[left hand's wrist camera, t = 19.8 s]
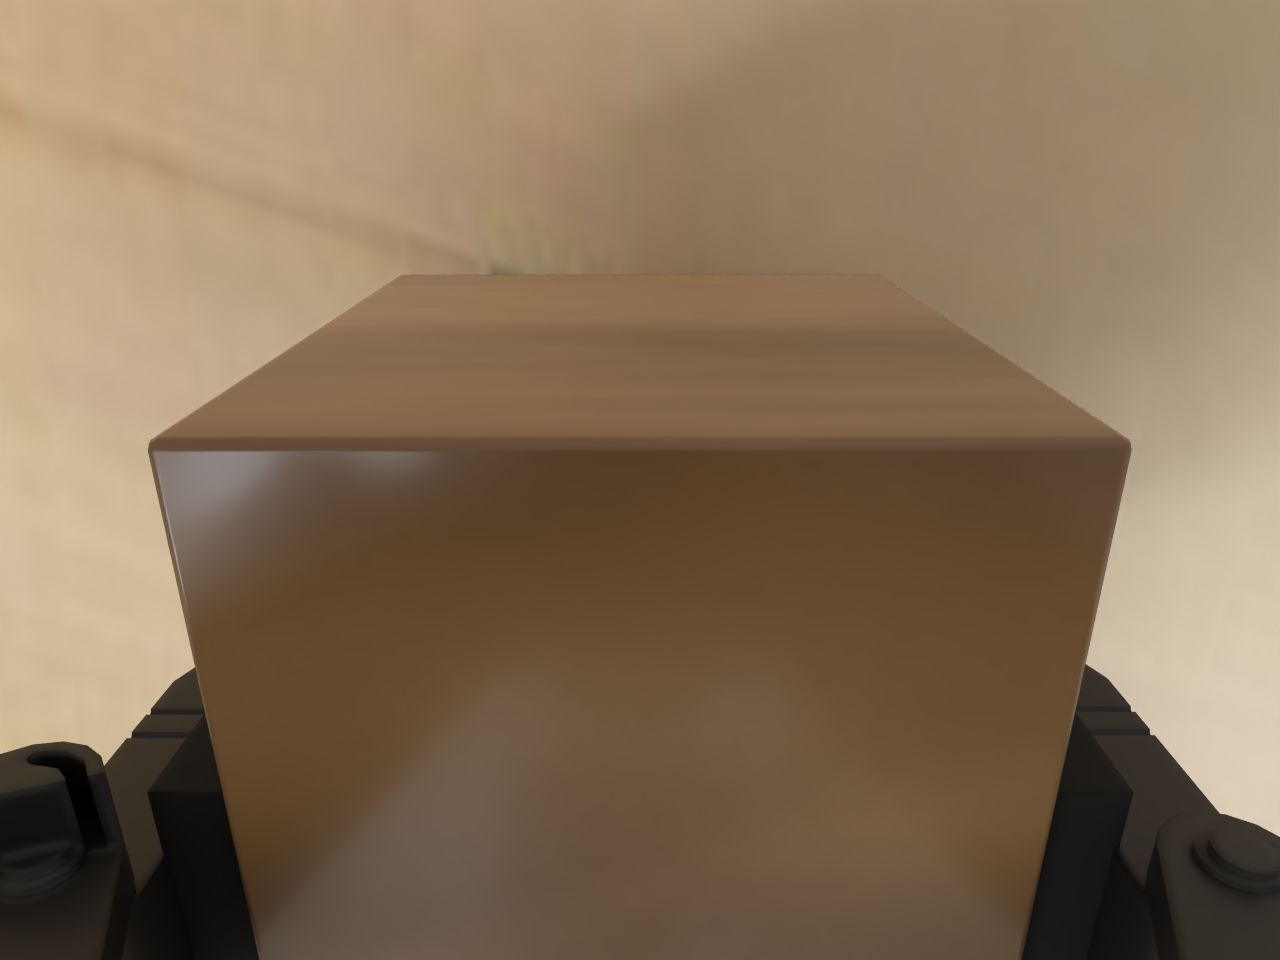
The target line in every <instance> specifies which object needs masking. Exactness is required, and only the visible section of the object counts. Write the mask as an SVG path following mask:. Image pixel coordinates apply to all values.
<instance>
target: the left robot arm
mask: <svg viewBox="0 0 1280 960" xmlns="http://www.w3.org/2000/svg"><path fill="white" fill-rule="evenodd" d="M0 960H259V957H258V952H257V948H256V943H255V939H254V934H253V929H252V925H251V920H250V916H249V911H248V906H247V902H246V897H245V893H244V888H243V884H242V879H241V874H240V870H239V865H238V861H237V856H236V852H235V847H234V842H233V838H232V833H231V829H230V824H229V819H228V815H227V810H226V806H225V801H224V797H223V792H222V787H221V783H220V778H219V774H218V769H217V764H216V760H215V755H214V751H213V746H212V742H211V737H210V732H209V728H208V723H207V719H206V714H205V709H204V705H203V700H202V696H201V691H200V687H199V682H198V677H197V673H196V668H193V669H192V670H190V671H189V672H187V673H186V674H184V675H183V676H181V677H180V678H178V679H177V680H175V681H174V682H173V683H172V684H171V685H170V687H169V688H168V689H167V690H166V692H165V693H164V694H163V695H162V696H161V698H160V699H159V700H158V701H157V702H156V704H155V705H154V706H153V707H152V709H151V714H150V715H146V716H145V717H144V718H143V719H142V721H141V722H140V723H139V724H138V725H137V727H136V728H135V729H134V730H133V732H132V737H131V738H127V739H126V740H125V741H124V742H123V744H122V745H121V746H120V747H119V749H118V750H117V751H116V752H115V753H114V755H113V756H112V757H111V758H110V759H109V761H108V762H107V763H106V764H105V766H104V765H103V761H102V757H101V756H100V755H99V754H98V753H96V752H95V751H94V750H92V749H91V748H90V747H88V746H87V745H81V744H75V743H69V742H54V743H44V744H34V745H30V746H27V747H23V748H20V749H16V750H13V751H10V752H6V753H3V754H0ZM1022 960H1280V837H1279V836H1277V835H1275V834H1273V833H1271V832H1269V831H1268V830H1266V829H1264V828H1262V827H1260V826H1258V825H1256V824H1253V823H1250V822H1247V821H1244V820H1241V819H1238V818H1235V817H1232V816H1228V815H1225V814H1220V813H1219V812H1218V811H1217V810H1216V809H1215V807H1214V806H1213V805H1212V804H1211V803H1210V801H1209V800H1208V799H1207V798H1206V797H1205V795H1204V794H1203V793H1202V792H1201V790H1200V789H1199V788H1198V787H1197V786H1196V784H1195V783H1194V782H1193V781H1192V780H1191V778H1190V777H1189V776H1188V775H1187V774H1186V772H1185V771H1184V770H1183V769H1182V768H1181V766H1180V765H1179V764H1178V763H1177V762H1176V760H1175V759H1174V758H1173V757H1172V756H1171V754H1170V753H1169V752H1168V751H1167V750H1166V748H1165V747H1164V746H1163V745H1162V743H1161V742H1160V741H1159V740H1158V739H1157V737H1156V736H1155V735H1150V729H1149V728H1148V727H1147V725H1146V724H1145V723H1144V722H1143V721H1142V719H1141V718H1140V717H1139V716H1138V715H1137V713H1136V712H1131V706H1130V705H1129V704H1128V703H1127V701H1126V700H1125V699H1124V698H1123V697H1122V695H1121V694H1120V693H1119V692H1118V690H1117V689H1116V688H1115V687H1114V686H1113V684H1112V683H1111V682H1110V681H1109V680H1108V679H1107V678H1106V677H1104V676H1103V675H1101V674H1100V673H1098V672H1097V671H1095V670H1094V669H1092V668H1091V667H1089V666H1088V665H1086V664H1085V668H1084V673H1083V677H1082V682H1081V686H1080V691H1079V696H1078V700H1077V705H1076V710H1075V714H1074V719H1073V724H1072V728H1071V733H1070V737H1069V742H1068V747H1067V751H1066V756H1065V761H1064V765H1063V770H1062V775H1061V779H1060V784H1059V788H1058V793H1057V798H1056V802H1055V807H1054V812H1053V816H1052V821H1051V826H1050V830H1049V835H1048V839H1047V844H1046V849H1045V853H1044V858H1043V863H1042V867H1041V872H1040V877H1039V881H1038V886H1037V890H1036V895H1035V900H1034V904H1033V909H1032V914H1031V918H1030V923H1029V928H1028V932H1027V937H1026V941H1025V946H1024V951H1023V955H1022Z"/></svg>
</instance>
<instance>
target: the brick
mask: <svg viewBox="0 0 1280 960" xmlns="http://www.w3.org/2000/svg"><path fill="white" fill-rule="evenodd" d="M148 453H149V458H150V462H151V467H152V471H153V476H154V480H155V485H156V490H157V494H158V499H159V503H160V508H161V513H162V517H163V522H164V526H165V531H166V535H167V540H168V545H169V549H170V554H171V558H172V563H173V567H174V572H175V577H176V581H177V586H178V590H179V595H180V600H181V604H182V609H183V613H184V618H185V622H186V627H187V632H188V636H189V641H190V645H191V650H192V655H193V659H194V664H195V668H196V673H197V677H198V682H199V687H200V691H201V696H202V700H203V705H204V709H205V714H206V719H207V723H208V728H209V732H210V737H211V742H212V746H213V751H214V755H215V760H216V764H217V769H218V774H219V778H220V783H221V787H222V792H223V797H224V801H225V806H226V810H227V815H228V819H229V824H230V829H231V833H232V838H233V842H234V847H235V852H236V856H237V861H238V865H239V870H240V874H241V879H242V884H243V888H244V893H245V897H246V902H247V906H248V911H249V916H250V920H251V925H252V929H253V934H254V939H255V943H256V948H257V952H258V957H259V960H1022V955H1023V951H1024V946H1025V941H1026V937H1027V932H1028V928H1029V923H1030V918H1031V914H1032V909H1033V904H1034V900H1035V895H1036V890H1037V886H1038V881H1039V877H1040V872H1041V867H1042V863H1043V858H1044V853H1045V849H1046V844H1047V839H1048V835H1049V830H1050V826H1051V821H1052V816H1053V812H1054V807H1055V802H1056V798H1057V793H1058V788H1059V784H1060V779H1061V775H1062V770H1063V765H1064V761H1065V756H1066V751H1067V747H1068V742H1069V737H1070V733H1071V728H1072V724H1073V719H1074V714H1075V710H1076V705H1077V700H1078V696H1079V691H1080V686H1081V682H1082V677H1083V673H1084V668H1085V663H1086V659H1087V654H1088V649H1089V645H1090V640H1091V635H1092V631H1093V626H1094V622H1095V617H1096V612H1097V608H1098V603H1099V598H1100V594H1101V589H1102V584H1103V580H1104V575H1105V571H1106V566H1107V561H1108V557H1109V552H1110V547H1111V543H1112V538H1113V533H1114V529H1115V524H1116V520H1117V515H1118V510H1119V506H1120V501H1121V496H1122V492H1123V487H1124V482H1125V478H1126V473H1127V469H1128V464H1129V459H1130V455H1131V443H1130V441H1129V439H1127V438H1126V437H1124V436H1123V435H1121V434H1120V433H1118V432H1117V431H1115V430H1114V429H1112V428H1111V427H1109V426H1108V425H1106V424H1105V423H1103V422H1102V421H1100V420H1099V419H1097V418H1096V417H1094V416H1093V415H1091V414H1090V413H1088V412H1087V411H1085V410H1083V409H1082V408H1080V407H1079V406H1077V405H1076V404H1074V403H1073V402H1071V401H1070V400H1068V399H1067V398H1065V397H1064V396H1062V395H1061V394H1059V393H1058V392H1056V391H1055V390H1053V389H1052V388H1050V387H1049V386H1047V385H1046V384H1044V383H1043V382H1041V381H1040V380H1038V379H1037V378H1035V377H1034V376H1032V375H1031V374H1029V373H1027V372H1026V371H1024V370H1023V369H1021V368H1020V367H1018V366H1017V365H1015V364H1014V363H1012V362H1011V361H1009V360H1008V359H1006V358H1005V357H1003V356H1002V355H1000V354H999V353H997V352H996V351H994V350H993V349H991V348H990V347H988V346H987V345H985V344H984V343H982V342H981V341H979V340H978V339H976V338H975V337H973V336H971V335H970V334H968V333H967V332H965V331H964V330H962V329H961V328H959V327H958V326H956V325H955V324H953V323H952V322H950V321H949V320H947V319H946V318H944V317H943V316H941V315H940V314H938V313H937V312H935V311H934V310H932V309H931V308H929V307H928V306H926V305H925V304H923V303H922V302H920V301H919V300H917V299H916V298H914V297H912V296H911V295H909V294H908V293H906V292H905V291H903V290H902V289H900V288H899V287H897V286H896V285H894V284H893V283H891V282H890V281H888V280H887V279H885V278H884V277H882V276H880V275H878V274H785V275H402V276H399V277H398V278H396V279H395V280H393V281H392V282H390V283H389V284H387V285H386V286H384V287H383V288H381V289H379V290H378V291H376V292H375V293H373V294H372V295H370V296H369V297H367V298H366V299H364V300H363V301H361V302H360V303H358V304H357V305H355V306H354V307H352V308H351V309H349V310H348V311H346V312H345V313H343V314H341V315H340V316H338V317H337V318H335V319H334V320H332V321H331V322H329V323H328V324H326V325H325V326H323V327H322V328H320V329H319V330H317V331H316V332H314V333H313V334H311V335H310V336H308V337H307V338H305V339H304V340H302V341H300V342H299V343H297V344H296V345H294V346H293V347H291V348H290V349H288V350H287V351H285V352H284V353H282V354H281V355H279V356H278V357H276V358H275V359H273V360H272V361H270V362H269V363H267V364H266V365H264V366H262V367H261V368H259V369H258V370H256V371H255V372H253V373H252V374H250V375H249V376H247V377H246V378H244V379H243V380H241V381H240V382H238V383H237V384H235V385H234V386H232V387H231V388H229V389H228V390H226V391H224V392H223V393H221V394H220V395H218V396H217V397H215V398H214V399H212V400H211V401H209V402H208V403H206V404H205V405H203V406H202V407H200V408H199V409H197V410H196V411H194V412H193V413H191V414H190V415H188V416H186V417H185V418H183V419H182V420H180V421H179V422H177V423H176V424H174V425H173V426H171V427H170V428H168V429H167V430H165V431H164V432H162V433H161V434H159V435H158V436H156V437H155V438H153V439H152V440H150V443H149V447H148Z"/></svg>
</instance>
